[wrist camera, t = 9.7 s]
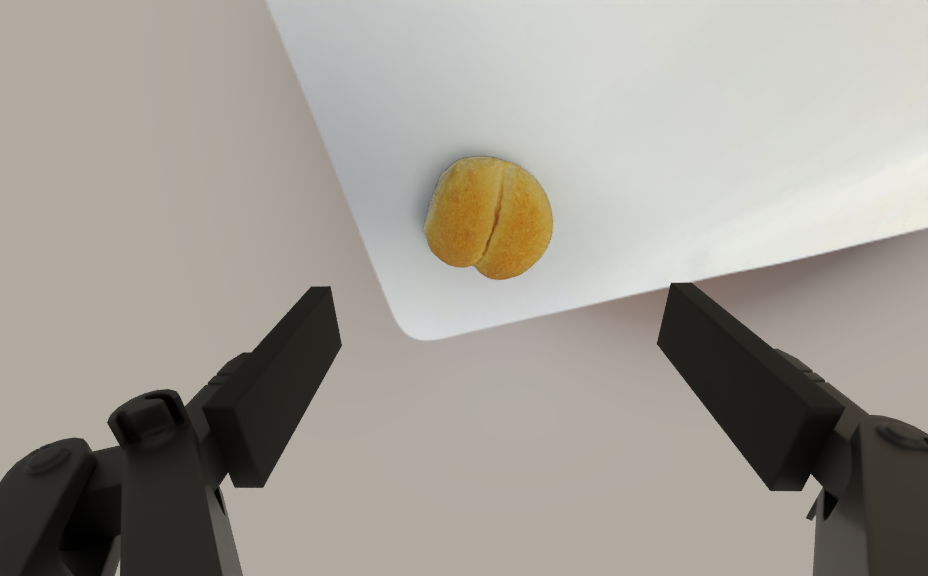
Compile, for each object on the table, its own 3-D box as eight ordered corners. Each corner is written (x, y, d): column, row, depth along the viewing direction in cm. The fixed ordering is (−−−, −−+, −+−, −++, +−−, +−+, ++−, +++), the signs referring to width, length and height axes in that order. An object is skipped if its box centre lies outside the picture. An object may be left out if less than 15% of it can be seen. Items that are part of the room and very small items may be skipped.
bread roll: (523, 282, 30) (530, 306, 27) (416, 245, 29) (408, 265, 26) (570, 183, 27) (585, 195, 23) (451, 137, 26) (447, 142, 22)
